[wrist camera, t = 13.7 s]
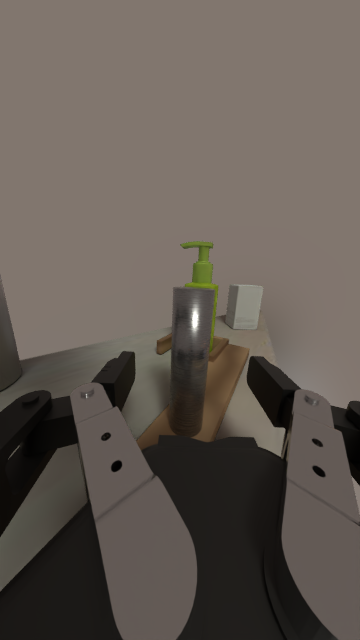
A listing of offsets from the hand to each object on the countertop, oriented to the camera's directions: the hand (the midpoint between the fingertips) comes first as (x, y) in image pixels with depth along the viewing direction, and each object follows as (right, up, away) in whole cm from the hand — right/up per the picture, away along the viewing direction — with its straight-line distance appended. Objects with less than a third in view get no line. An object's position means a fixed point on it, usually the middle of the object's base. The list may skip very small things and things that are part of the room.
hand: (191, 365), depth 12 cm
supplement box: (+18, +1, +41) cm, 45 cm away
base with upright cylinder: (0, -5, +14) cm, 14 cm away
